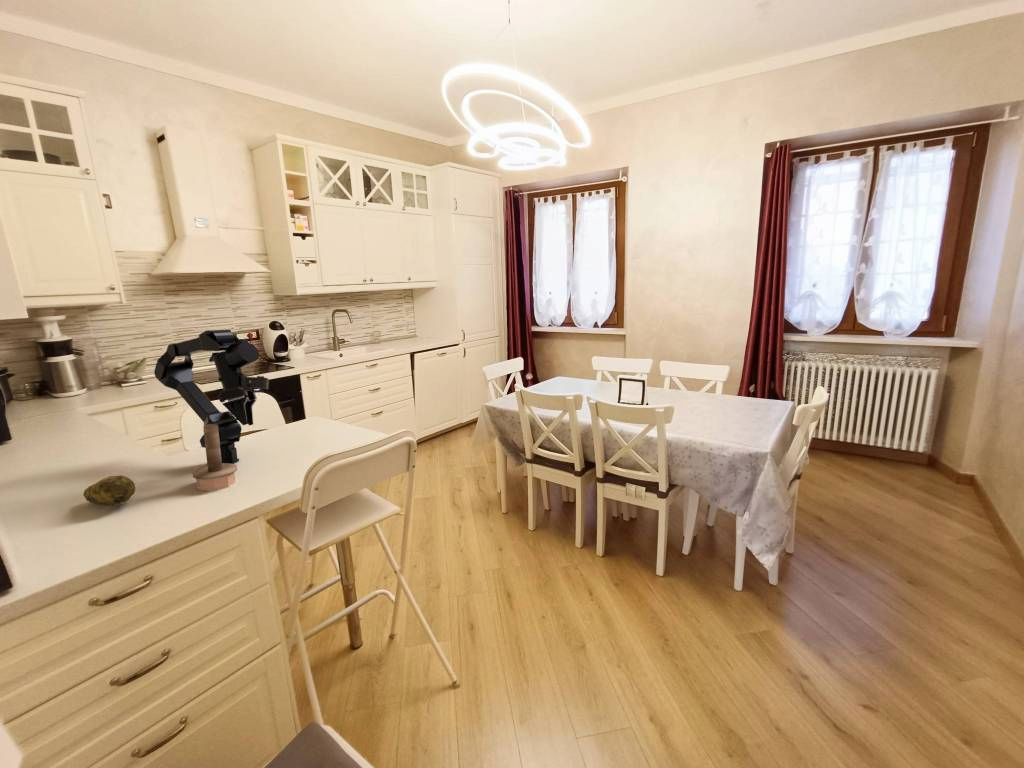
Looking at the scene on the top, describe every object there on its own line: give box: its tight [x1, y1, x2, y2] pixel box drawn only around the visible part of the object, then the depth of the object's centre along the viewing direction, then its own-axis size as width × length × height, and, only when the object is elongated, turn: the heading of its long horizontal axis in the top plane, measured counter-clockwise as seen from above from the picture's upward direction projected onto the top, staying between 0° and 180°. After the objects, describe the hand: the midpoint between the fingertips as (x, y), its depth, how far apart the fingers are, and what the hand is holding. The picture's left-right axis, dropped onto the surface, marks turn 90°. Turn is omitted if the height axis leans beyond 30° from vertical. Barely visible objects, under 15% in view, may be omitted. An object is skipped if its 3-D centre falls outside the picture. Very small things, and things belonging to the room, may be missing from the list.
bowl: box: [195, 472, 236, 491], centre depth 119 cm, size 8×8×4 cm
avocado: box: [82, 475, 136, 506], centre depth 105 cm, size 8×13×8 cm, turn 51°
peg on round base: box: [191, 424, 238, 480], centre depth 118 cm, size 10×10×13 cm
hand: (248, 424), depth 126 cm, fingers open, 9 cm apart
